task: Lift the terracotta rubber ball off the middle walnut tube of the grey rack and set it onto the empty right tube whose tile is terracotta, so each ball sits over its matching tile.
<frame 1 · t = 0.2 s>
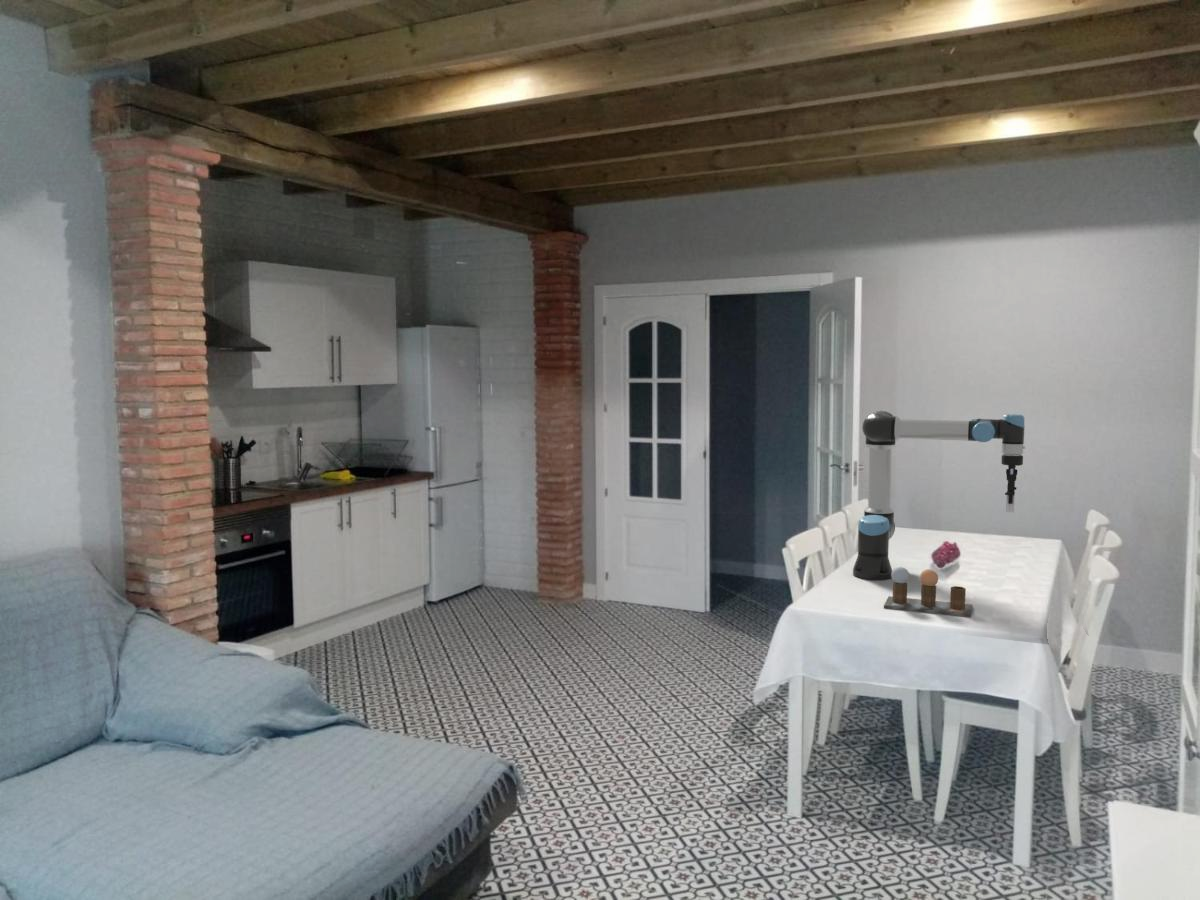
hand: (1010, 509, 354), 28 cm above the table, fingers open, 13 cm apart
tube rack: (928, 607, 318), on the table
ball terracotta: (928, 586, 317), point 8 cm above the table, touching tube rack
ball grey: (900, 583, 321), point 8 cm above the table, touching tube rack
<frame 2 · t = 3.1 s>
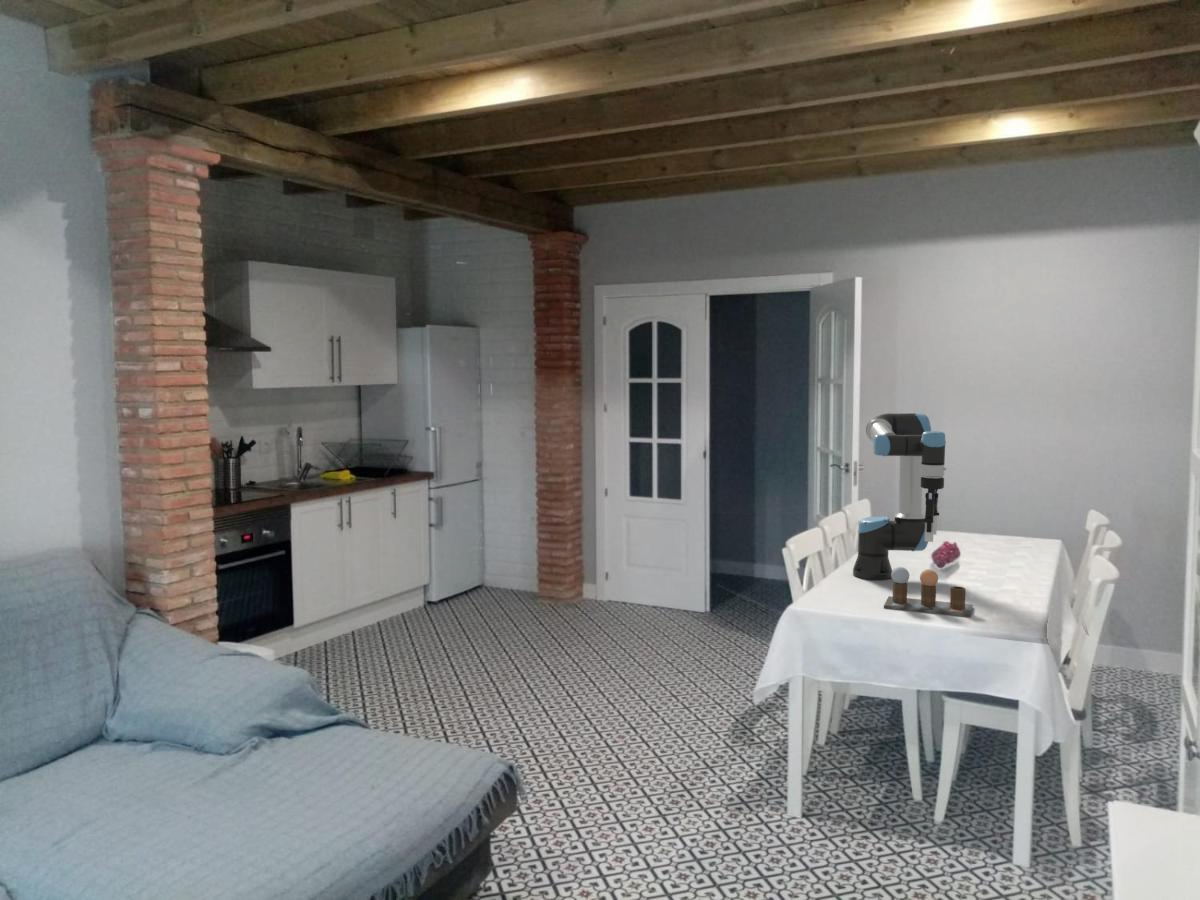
hand: (930, 537, 315), 25 cm above the table, fingers open, 13 cm apart
nothing on the table moved.
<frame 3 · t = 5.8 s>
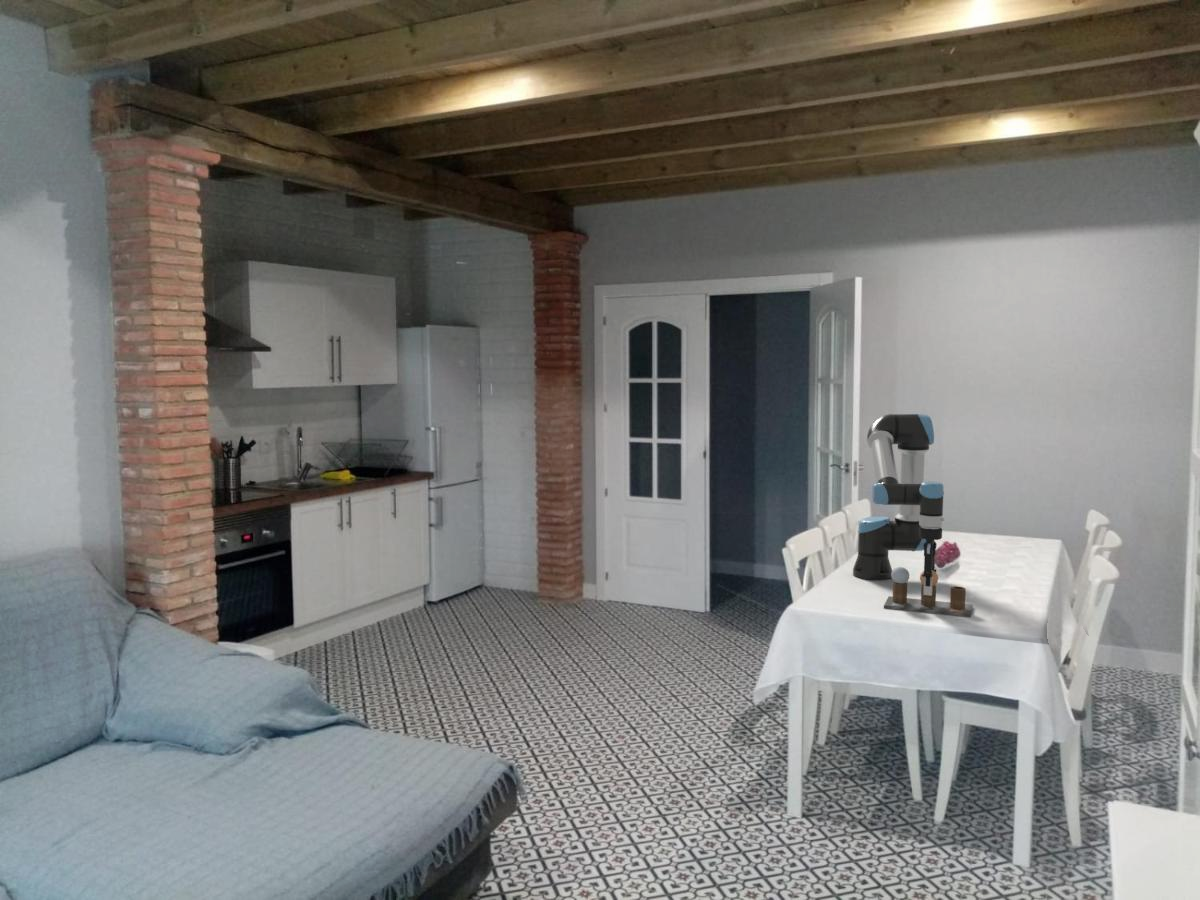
hand: (928, 592, 318), 5 cm above the table, fingers closed on ball terracotta, 6 cm apart
ball terracotta: (928, 586, 317), point 8 cm above the table, touching gripper, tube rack
everything else where it was.
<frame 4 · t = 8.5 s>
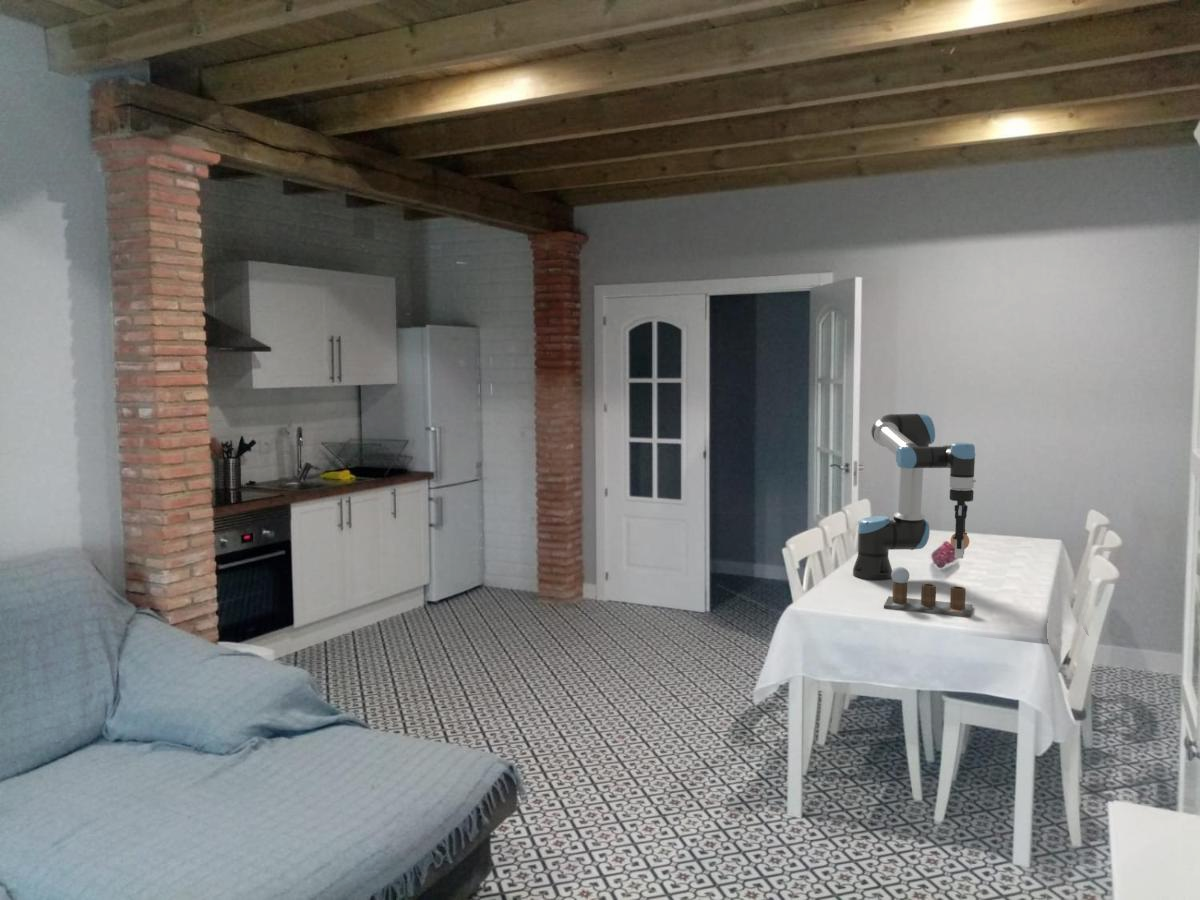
hand: (959, 555, 312), 19 cm above the table, fingers closed on ball terracotta, 6 cm apart
ball terracotta: (959, 549, 312), point 21 cm above the table, touching gripper
everything else where it was.
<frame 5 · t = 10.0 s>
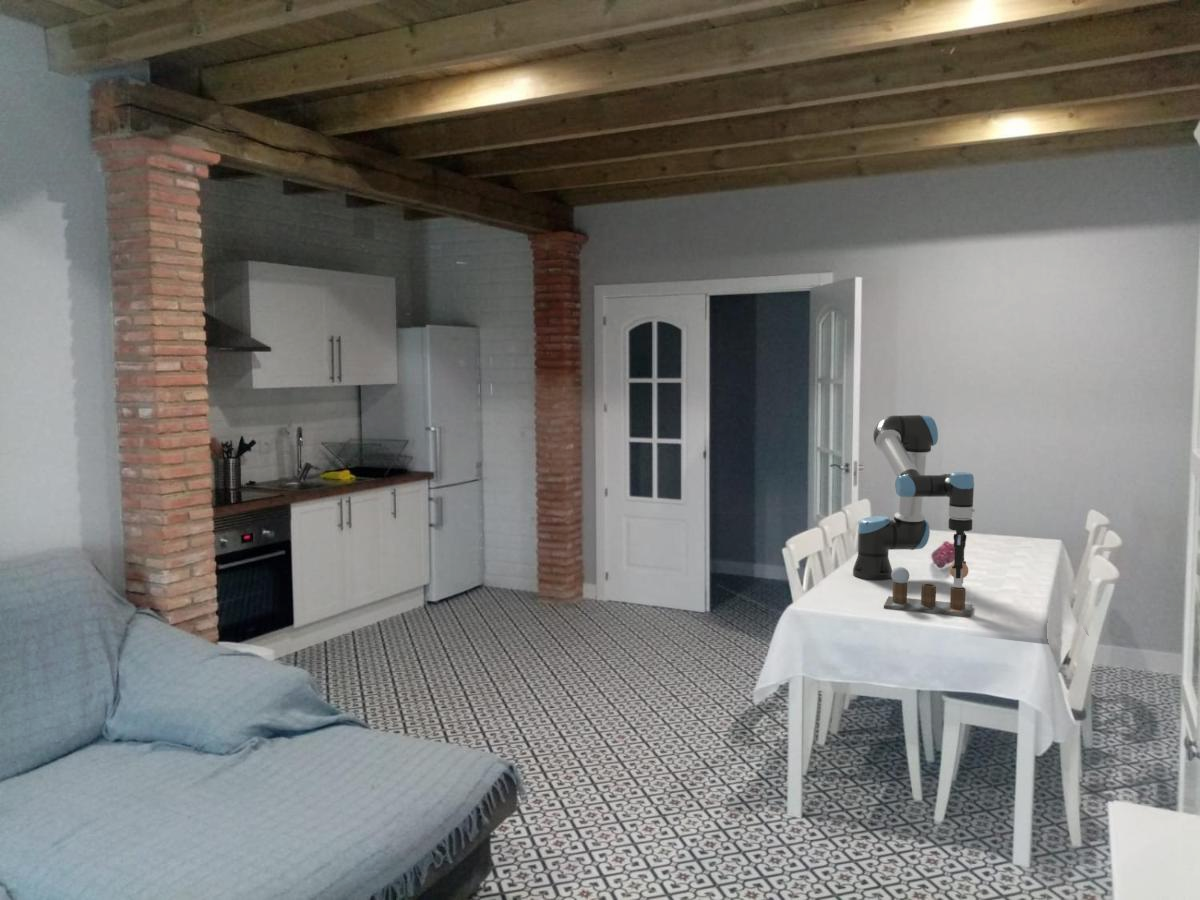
hand: (958, 584, 313), 9 cm above the table, fingers closed on ball terracotta, 6 cm apart
ball terracotta: (958, 578, 313), point 11 cm above the table, touching gripper
everything else where it was.
when the fingers open (7 cm above the table, at t = 11.3 s): ball terracotta drops 1 cm, resting on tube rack.
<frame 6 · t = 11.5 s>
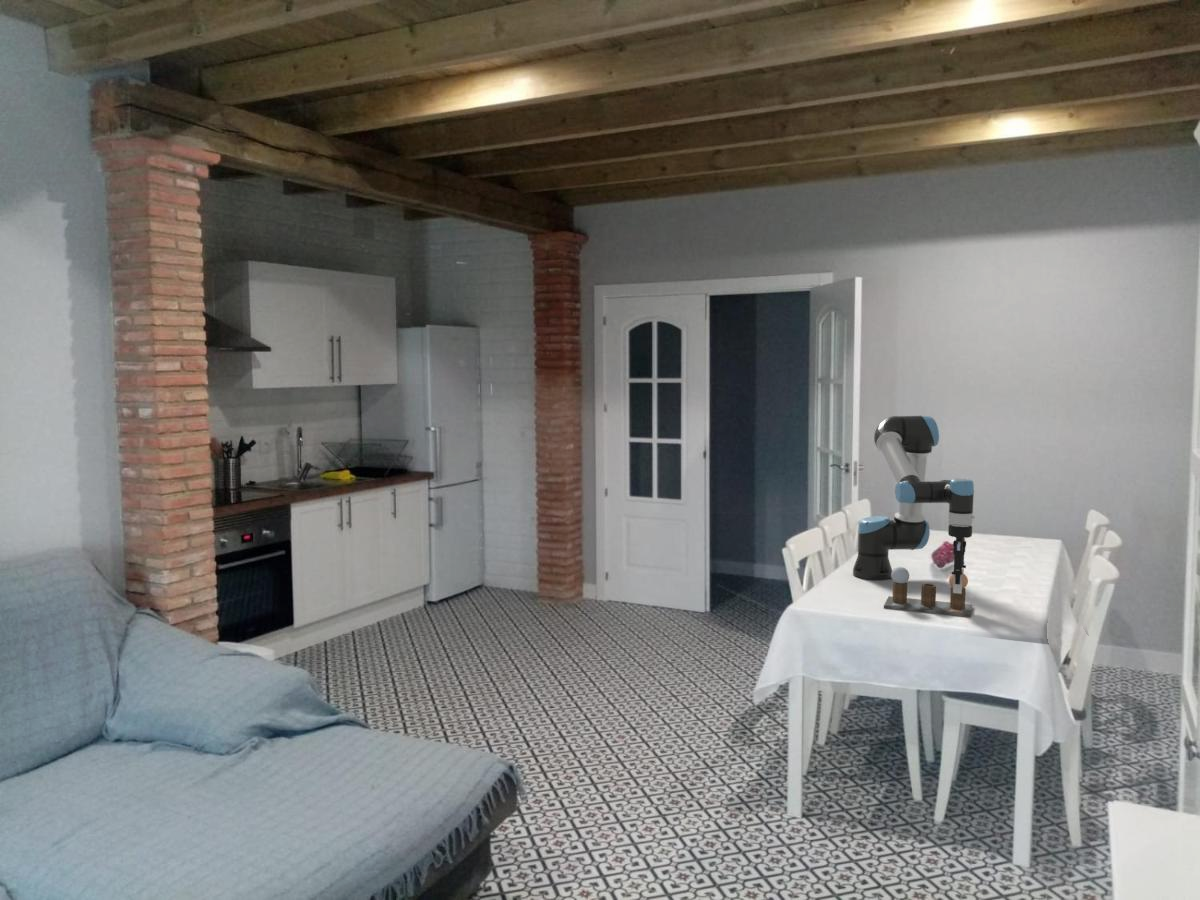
hand: (958, 589, 313), 7 cm above the table, fingers open, 8 cm apart
ball terracotta: (958, 589, 313), point 8 cm above the table, touching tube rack
everything else where it was.
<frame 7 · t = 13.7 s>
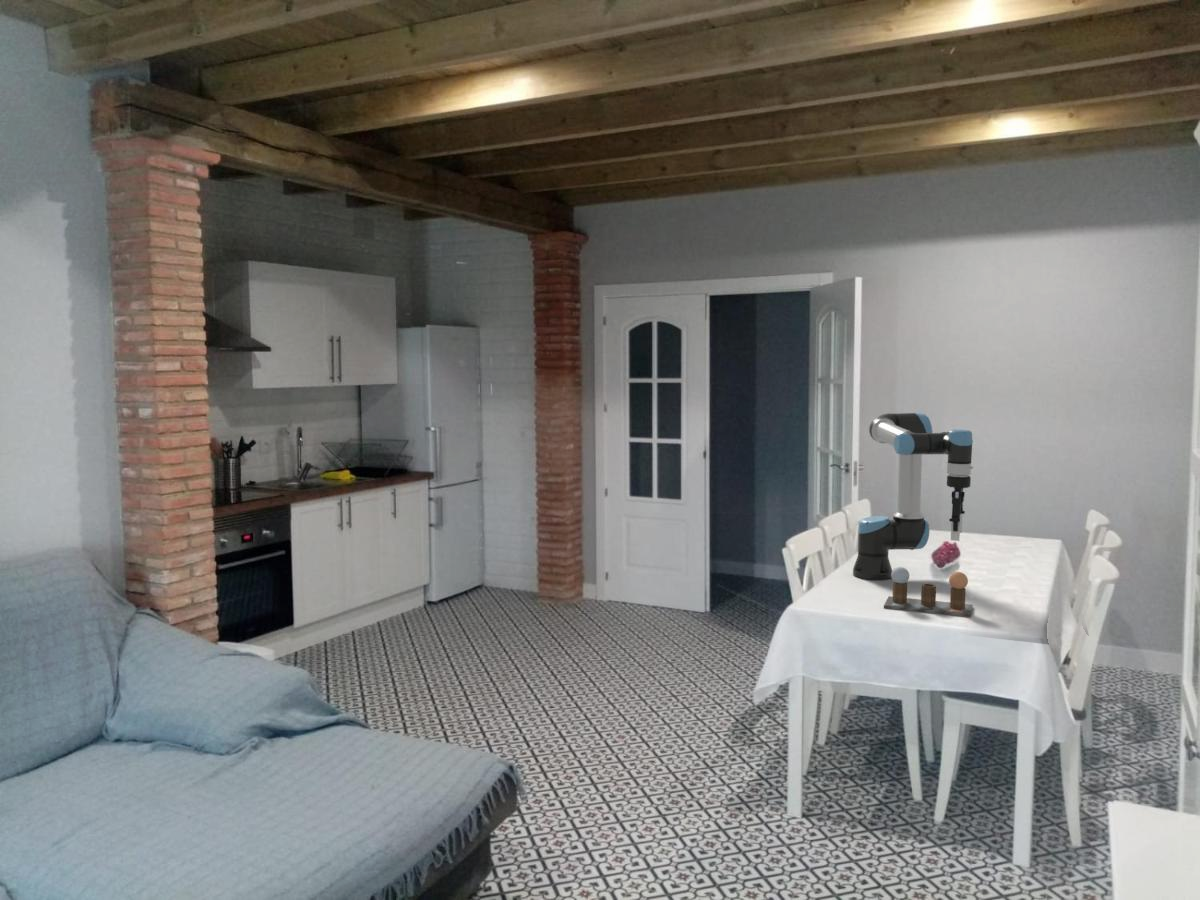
hand: (956, 536, 315), 25 cm above the table, fingers open, 13 cm apart
nothing on the table moved.
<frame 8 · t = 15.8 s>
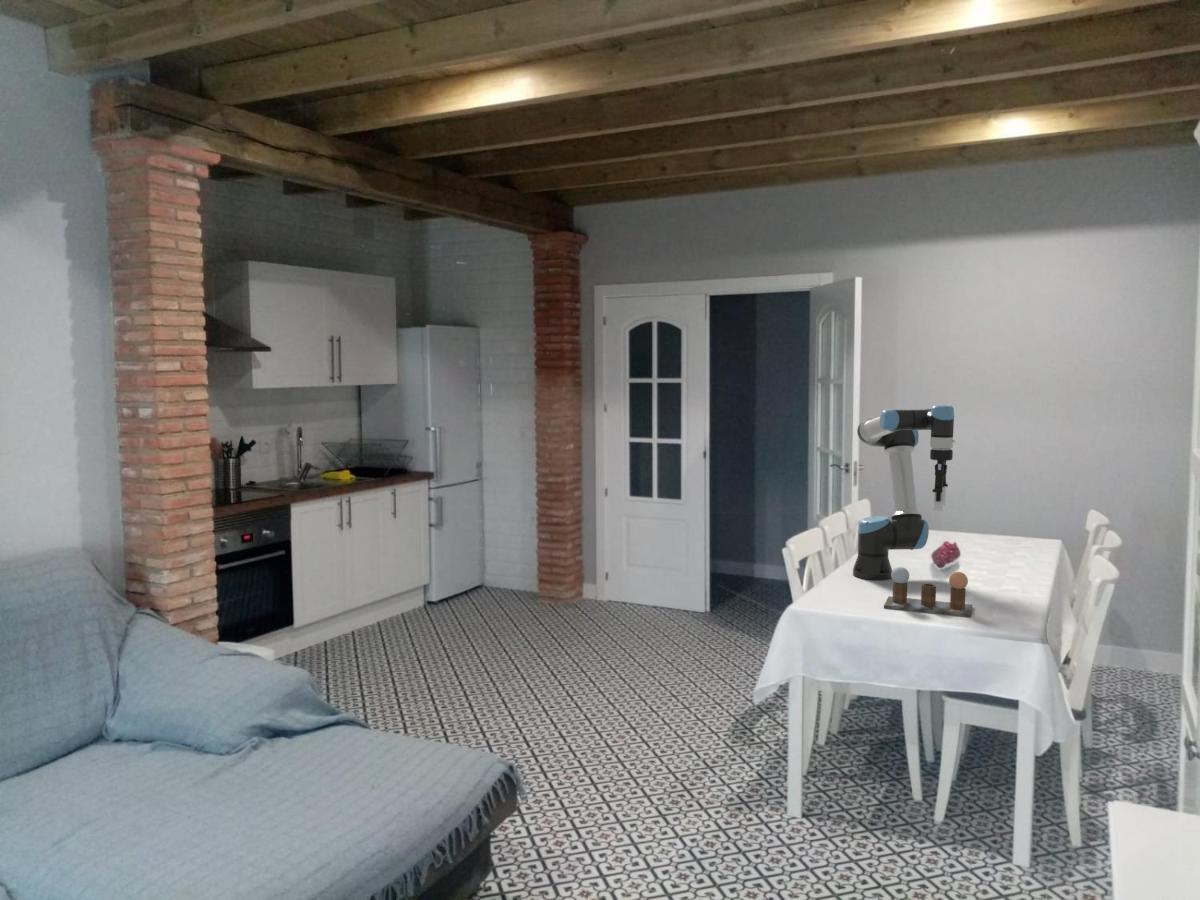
hand: (939, 507, 329), 33 cm above the table, fingers open, 13 cm apart
nothing on the table moved.
at the end: ball terracotta 0.0 cm from the target spot on the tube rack, point 7.5 cm above the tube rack's base; the gripper is holding nothing; ball grey moved 0.1 cm from its start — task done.
